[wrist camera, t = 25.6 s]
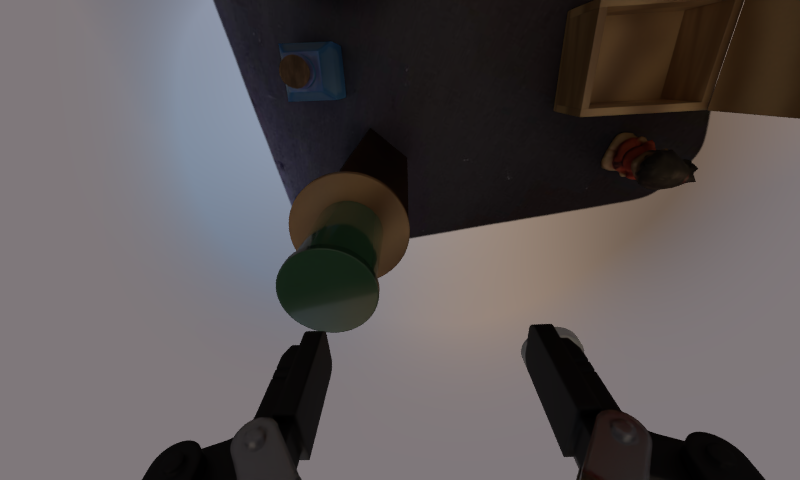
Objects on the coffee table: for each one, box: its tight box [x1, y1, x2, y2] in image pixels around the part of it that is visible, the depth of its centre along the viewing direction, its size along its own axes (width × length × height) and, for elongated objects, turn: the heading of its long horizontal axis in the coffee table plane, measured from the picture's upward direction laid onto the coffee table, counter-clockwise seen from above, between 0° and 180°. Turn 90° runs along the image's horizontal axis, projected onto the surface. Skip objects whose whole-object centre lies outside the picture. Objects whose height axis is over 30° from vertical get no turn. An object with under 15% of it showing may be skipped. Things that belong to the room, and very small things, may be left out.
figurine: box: [601, 133, 698, 190], centre depth 43 cm, size 6×6×12 cm
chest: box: [553, 0, 744, 117], centre depth 40 cm, size 15×12×8 cm
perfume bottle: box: [279, 41, 346, 102], centre depth 39 cm, size 6×6×12 cm
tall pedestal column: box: [289, 128, 410, 278], centre depth 38 cm, size 10×10×26 cm
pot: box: [276, 201, 383, 333], centre depth 23 cm, size 6×6×8 cm
